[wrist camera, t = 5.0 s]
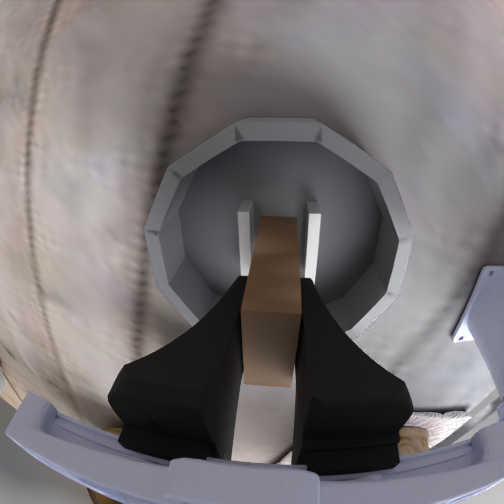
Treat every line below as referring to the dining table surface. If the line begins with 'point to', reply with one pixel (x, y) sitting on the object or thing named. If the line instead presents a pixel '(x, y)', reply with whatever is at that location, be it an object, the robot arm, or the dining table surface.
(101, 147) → the dining table surface
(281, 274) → the tan wooden plank
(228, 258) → the grey ashtray
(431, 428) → the cookie jar
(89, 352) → the dining table surface
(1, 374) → the cereal bowl
